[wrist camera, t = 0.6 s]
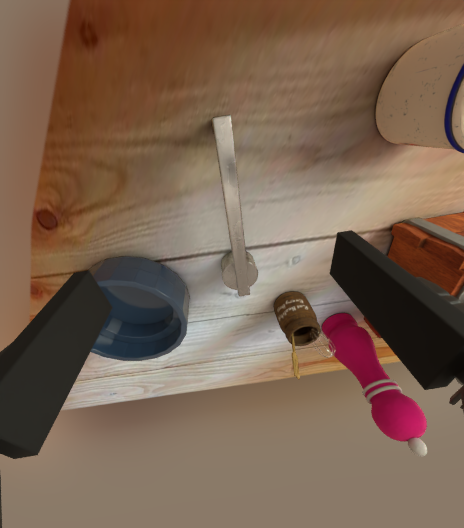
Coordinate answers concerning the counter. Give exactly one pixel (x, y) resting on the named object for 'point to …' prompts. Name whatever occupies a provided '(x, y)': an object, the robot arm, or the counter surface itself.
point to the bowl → (140, 309)
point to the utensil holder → (297, 323)
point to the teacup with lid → (426, 94)
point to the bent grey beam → (232, 212)
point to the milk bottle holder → (431, 252)
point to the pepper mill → (376, 382)
